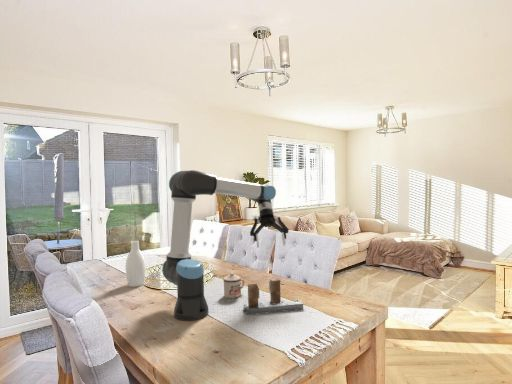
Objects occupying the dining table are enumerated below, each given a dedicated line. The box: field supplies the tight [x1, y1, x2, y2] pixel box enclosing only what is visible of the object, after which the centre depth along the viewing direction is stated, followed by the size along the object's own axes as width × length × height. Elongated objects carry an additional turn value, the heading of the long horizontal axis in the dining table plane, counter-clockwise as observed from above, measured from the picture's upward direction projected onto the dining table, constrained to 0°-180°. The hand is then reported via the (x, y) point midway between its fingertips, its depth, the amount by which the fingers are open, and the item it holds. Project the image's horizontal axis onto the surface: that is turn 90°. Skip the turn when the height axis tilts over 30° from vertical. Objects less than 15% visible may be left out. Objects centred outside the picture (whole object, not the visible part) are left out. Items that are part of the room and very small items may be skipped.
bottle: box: [125, 240, 147, 288], centre depth 195 cm, size 11×11×25 cm
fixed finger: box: [247, 283, 260, 306], centre depth 153 cm, size 5×4×11 cm
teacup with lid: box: [222, 272, 245, 299], centre depth 173 cm, size 12×9×12 cm
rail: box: [243, 298, 304, 315], centre depth 153 cm, size 27×7×2 cm, turn 100°
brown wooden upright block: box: [268, 277, 282, 304], centre depth 162 cm, size 5×4×11 cm
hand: (271, 245), depth 170 cm, fingers open, 13 cm apart
